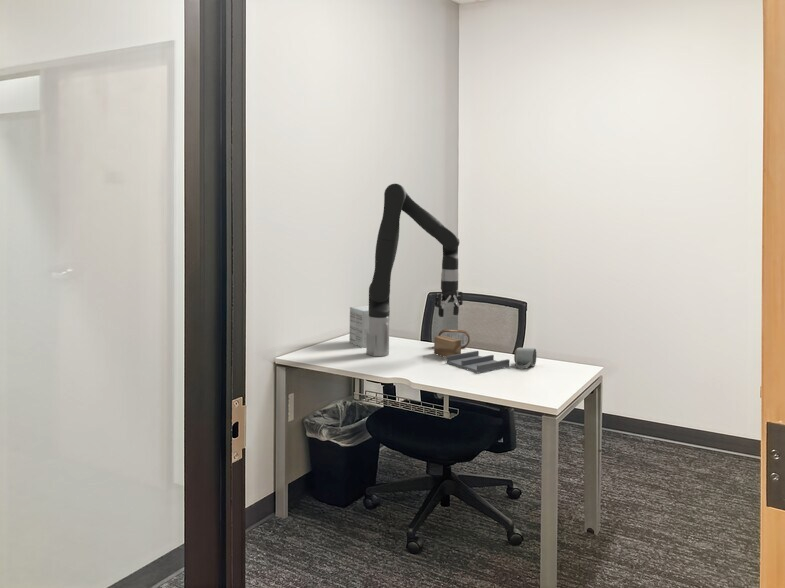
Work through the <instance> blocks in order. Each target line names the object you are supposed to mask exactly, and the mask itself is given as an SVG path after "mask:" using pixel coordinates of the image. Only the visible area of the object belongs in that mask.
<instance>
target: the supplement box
mask: <svg viewBox="0 0 785 588" xmlns="http://www.w3.org/2000/svg"><path fill="white" fill-rule="evenodd" d="M368 329H369V305H360V306H359V305H358V306H349V337H348V338H349V343H351V344H352V343H353V344H352V345H355V346H357V345H358V346H357V347H359V348H360V347H361V348H362V347H364V348H366V339H367V333H368Z"/></svg>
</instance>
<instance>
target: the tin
mask: <svg viewBox="0 0 785 588" xmlns="http://www.w3.org/2000/svg"><path fill="white" fill-rule="evenodd" d="M442 335H443V336H447V337H451V338H455V339H459V340H461V349H463V348H466V347H467V346H468V345H469V344H470V340H471V337H470V334H469V333H468V332H467V331H466V330H465V329H464V330H463V329H450V328H449V329H447V328H446V329H445V328H444V329H442V330H441V331H439V332H438V335H437V336H442Z"/></svg>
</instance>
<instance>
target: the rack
mask: <svg viewBox="0 0 785 588" xmlns="http://www.w3.org/2000/svg"><path fill="white" fill-rule="evenodd" d="M479 354H480V351H479V350H474V351H467V352H461V354H456V355H450V356H447V358H446V364H449V365H451V366H454V365H455V367H458V368H461V369H465V370H467V369H468V370H467V371H470V370H471V371H470V372H473V371H474V373H476V374H481V373H486V372H490V371H496V370H500V368H501V369H505V368H509V367H510V359H508V358H507V359H502V360H496V359H494V358H495V357H494V356H495V355H493V354H490V355H485V356H483V355H482V356H481V355H479ZM504 367H505V368H504ZM495 369H496V370H495Z"/></svg>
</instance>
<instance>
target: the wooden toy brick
mask: <svg viewBox="0 0 785 588" xmlns="http://www.w3.org/2000/svg"><path fill="white" fill-rule="evenodd" d="M433 349H434V350H433V355H436V354H438V355H437V356H440V355H441V356H440V357H443V356H444V358H446V357H447V356H450V355H456V354H462V348H461V340H459V339H455V338H451V337H447V336H443V335H442V336H438V335H437V336H434V343H433Z"/></svg>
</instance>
